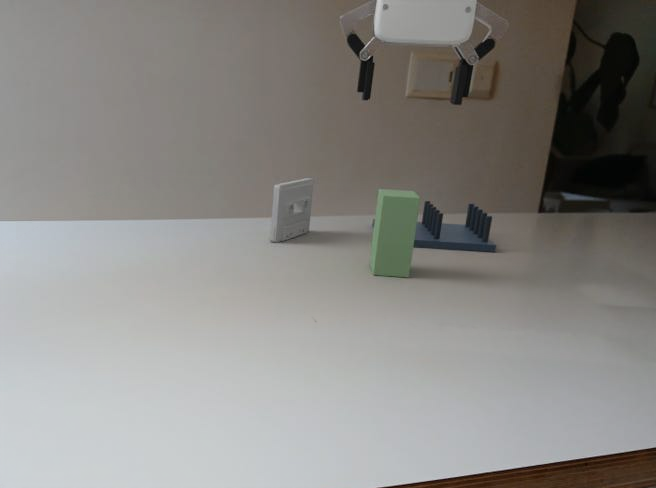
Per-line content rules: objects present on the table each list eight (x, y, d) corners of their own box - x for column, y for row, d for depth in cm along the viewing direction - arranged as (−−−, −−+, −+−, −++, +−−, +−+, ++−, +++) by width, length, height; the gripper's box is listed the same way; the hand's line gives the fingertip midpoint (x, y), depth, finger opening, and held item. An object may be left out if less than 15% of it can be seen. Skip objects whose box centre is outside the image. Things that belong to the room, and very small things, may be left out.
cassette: (278, 243, 100) (283, 185, 98) (266, 241, 101) (270, 184, 99) (312, 231, 110) (317, 178, 107) (300, 229, 111) (305, 177, 108)
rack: (471, 231, 115) (476, 202, 113) (495, 252, 100) (501, 218, 98) (372, 225, 117) (376, 196, 115) (381, 244, 102) (385, 212, 100)
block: (402, 266, 90) (413, 190, 87) (408, 277, 84) (420, 197, 81) (369, 263, 90) (378, 189, 87) (372, 275, 85) (383, 195, 82)
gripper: (516, -66, 78) (484, 105, 84) (348, -69, 80) (330, 98, 86) (535, -82, 71) (500, 107, 77) (351, -84, 73) (331, 98, 79)
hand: (410, 102), depth 82 cm, fingers open, 9 cm apart
